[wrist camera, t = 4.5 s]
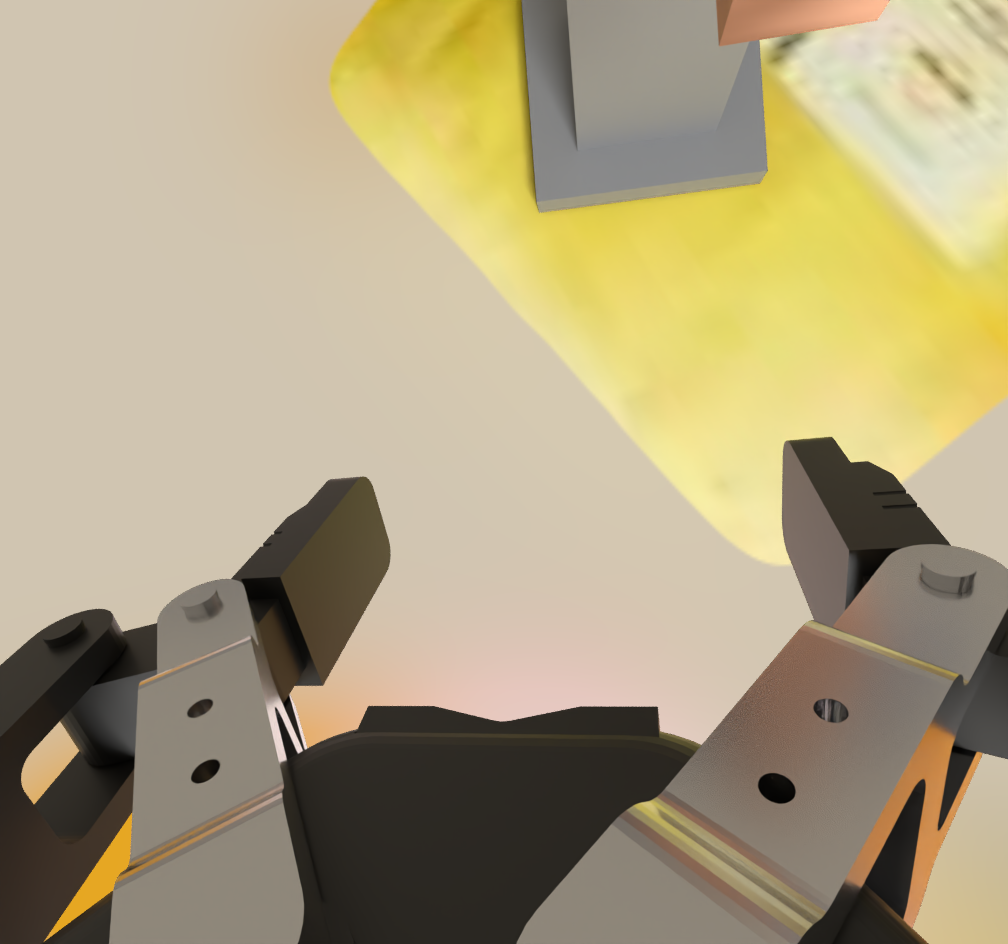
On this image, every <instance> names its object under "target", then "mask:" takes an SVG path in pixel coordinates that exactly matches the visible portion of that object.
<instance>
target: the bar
mask: <svg viewBox="0 0 1008 944" xmlns="http://www.w3.org/2000/svg"><path fill="white" fill-rule="evenodd" d="M889 1H890V0H716V9H717V24H718V40H719V46H725V45H731V44H737V43H743V42H749V41H755V40H761V39H767V38H774V37H780V36H786V35H792V34H798V33H804V32H810V31H816V30H822V29H828V28H834V27H840V26H846V25H852V24H858V23H864V22H870V21H876V20H878V18H879V16H880V15H881V13H882V12H883V10H884V9H885V7H886V6H887V4H888V3H889Z"/></svg>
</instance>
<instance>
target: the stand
mask: <svg viewBox="0 0 1008 944" xmlns="http://www.w3.org/2000/svg"><path fill="white" fill-rule="evenodd" d="M522 11H523V25H524V38H525V52H526V65H527V79H528V92H529V106H530V119H531V133H532V146H533V160H534V174H535V187H536V201H537V206H538V209H539V213H541V212H548V211H556V210H563V209H571V208H578V207H586V206H593V205H601V204H608V203H616V202H623V201H631V200H638V199H646V198H653V197H661V196H669V195H676V194H684V193H691V192H699V191H706V190H714V189H721V188H729V187H736V186H744V185H751V184H759V183H760V182H761V181H762V179H763V177H764V176H765V174H766V172H767V171H768V169H767V153H766V138H765V122H764V106H763V91H762V75H761V59H760V44H759V40H755V41H749V42H743V43H737V44H731V45H725V46H719V40H718V24H717V9H716V0H522Z"/></svg>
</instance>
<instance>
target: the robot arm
mask: <svg viewBox="0 0 1008 944" xmlns="http://www.w3.org/2000/svg"><path fill="white" fill-rule="evenodd" d="M782 527H783V536H784V542H785V546H786V550H787V553H788V555H789V558H790V560H791V563H792V565H793V568H794V570H795V573H796V575H797V578H798V580H799V583H800V585H801V588H802V590H803V593H804V595H805V598H806V600H807V603H808V606H809V608H810V610H811V613H812V615H813V618H814V620H811V621H808V622H807V623H805V624H804V625H803V626H802V627H801V628H800V629H799V630H798V631H797V633H796V634H795V635H794V636H793V637H792V639H791V640H790V641H789V642H788V643H787V645H786V646H785V647H784V648H783V649H782V651H781V652H780V653H779V654H778V655H777V656H776V658H775V659H774V660H773V661H772V662H771V664H770V665H769V666H768V667H767V668H766V669H765V671H764V672H763V673H762V674H761V675H760V677H759V678H758V679H757V680H756V681H755V683H754V684H753V685H752V686H751V687H750V688H749V690H748V691H747V692H746V693H745V694H744V696H743V697H742V698H741V699H740V701H739V702H738V703H737V704H736V705H735V706H734V707H733V709H732V710H731V711H730V712H729V713H728V715H727V716H726V717H725V718H724V719H723V721H722V722H721V723H720V724H719V725H718V727H717V728H716V729H715V730H714V731H713V733H712V734H711V735H710V736H709V737H708V738H707V740H706V741H705V742H704V743H703V744H702V745H700V744H698V743H696V742H694V741H691V740H688V739H685V738H682V737H679V736H676V735H672V734H668V733H664V732H661V731H660V726H659V715H658V707H576V708H571V709H566V710H561V711H557V712H551V713H546V714H542V715H537V716H532V717H527V718H522V719H517V720H512V721H505V722H499V721H493V720H489V719H485V718H481V717H477V716H473V715H468V714H464V713H459V712H456V711H452V710H448V709H443V708H439V707H435V706H368V708H367V710H366V712H365V714H364V717H363V719H362V721H361V723H360V725H359V728H358V729H357V730H353V731H349V732H346V733H343V734H339V735H336V736H333V737H331V738H329V739H326V740H324V741H321V742H319V743H317V744H315V745H313V746H311V747H309V748H307V745H306V741H305V738H304V734H303V731H302V727H301V724H300V720H299V717H298V714H297V710H296V707H295V705H294V702H293V700H292V698H291V695H290V692H291V691H292V689H293V687H294V686H323V685H324V683H325V681H326V679H327V677H328V676H329V674H330V672H331V670H332V669H333V667H334V665H335V663H336V661H337V660H338V658H339V656H340V654H341V652H342V650H343V649H344V647H345V645H346V643H347V641H348V640H349V638H350V636H351V635H352V633H353V631H354V629H355V627H356V626H357V624H358V622H359V620H360V619H361V616H362V615H363V613H364V611H365V610H366V608H367V606H368V604H369V602H370V601H371V599H372V597H373V595H374V594H375V592H376V590H377V588H378V586H379V585H380V583H381V581H382V579H383V577H384V576H385V574H386V572H387V570H388V567H389V563H390V544H389V539H388V536H387V533H386V530H385V526H384V523H383V519H382V516H381V513H380V509H379V506H378V502H377V499H376V496H375V492H374V489H373V486H372V484H371V482H370V481H369V479H367V478H366V477H353V478H341V479H331V480H328V481H327V482H326V483H325V485H324V486H323V487H322V488H321V489H320V490H319V491H318V492H317V494H316V495H315V496H314V497H313V498H312V499H311V500H310V501H309V503H308V504H307V505H306V506H304V507H302V508H301V509H299V510H298V511H296V512H295V513H293V514H292V515H290V516H289V517H287V518H286V519H285V521H284V522H283V523H282V524H281V525H280V526H279V527H278V528H277V529H276V530H275V531H274V535H271V536H270V537H269V538H268V539H267V540H266V541H265V542H264V543H263V547H260V548H259V549H258V550H257V551H256V552H255V553H254V554H253V556H252V557H251V558H250V559H249V560H248V561H247V562H246V563H245V564H244V566H242V568H241V569H240V570H239V571H238V572H237V573H236V574H235V575H234V576H233V578H232V579H220V580H215V581H211V582H207V583H204V584H201V585H199V586H196V587H194V588H191V589H190V590H188V591H186V592H184V593H182V594H181V595H179V596H178V597H176V598H175V599H173V600H172V601H171V602H170V603H169V604H167V605H166V607H165V608H164V609H163V610H162V611H161V613H160V615H159V617H158V621H157V623H156V624H152V625H149V626H144V627H140V628H136V629H132V630H128V631H124V632H122V631H121V629H120V627H119V625H118V624H117V622H116V620H115V618H114V616H113V614H112V613H111V612H110V611H108V610H105V609H93V610H87V611H83V612H80V613H76V614H73V615H71V616H68V617H66V618H63V619H61V620H59V621H57V622H55V623H54V624H51V625H50V626H48V627H46V628H45V629H43V630H42V631H40V632H39V633H37V634H36V635H35V636H34V637H32V638H31V639H30V640H29V641H28V642H27V643H25V644H24V645H23V646H22V647H21V648H20V649H19V650H17V651H16V652H15V653H14V654H13V655H12V656H11V657H9V658H8V659H7V660H6V661H5V662H4V663H3V664H1V665H0V944H928V943H927V942H926V941H925V940H924V939H923V938H922V937H921V936H920V935H919V934H917V932H915V931H914V930H913V929H912V928H913V925H914V923H915V920H916V917H917V915H918V912H919V909H920V906H921V904H922V901H923V897H924V894H925V891H926V888H927V884H928V881H929V877H930V874H931V871H932V868H933V865H934V862H935V860H936V857H937V855H938V852H939V850H940V848H941V845H942V843H943V841H944V839H945V837H946V834H947V832H948V830H949V827H950V826H951V823H952V821H953V819H954V817H955V815H956V812H957V810H958V808H959V806H960V804H961V801H962V799H963V797H964V795H965V792H966V790H967V788H968V786H969V784H970V781H971V779H972V777H973V775H974V773H975V770H976V768H977V766H978V764H979V762H980V759H981V757H982V754H983V753H985V754H989V755H993V756H997V757H1001V758H1005V759H1008V569H1007V568H1005V567H1004V566H1003V565H1002V564H1000V563H999V562H997V561H995V560H993V559H992V558H990V557H987V556H986V555H983V554H980V553H978V552H975V551H972V550H968V549H965V548H960V547H955V546H951V545H950V544H949V542H948V541H947V540H946V539H945V538H944V536H943V535H942V534H941V533H940V531H939V530H938V529H937V528H936V526H935V525H934V524H933V523H932V522H931V521H930V519H929V518H928V517H927V516H926V514H925V513H924V512H923V511H922V509H921V508H920V507H917V503H916V502H915V501H914V500H913V498H912V497H911V496H910V495H909V494H906V490H905V489H904V487H903V486H902V485H901V484H900V482H899V481H898V480H897V479H896V477H895V476H894V475H893V474H892V473H890V472H888V471H886V470H884V469H882V468H880V467H878V466H876V465H874V464H872V463H870V462H868V461H865V462H853V463H851V462H850V461H849V460H848V458H847V457H846V455H845V454H844V453H843V451H842V450H841V448H840V447H839V446H838V444H837V443H836V441H835V440H834V439H833V438H832V437H824V438H813V439H801V440H790V441H786V442H785V444H784V448H783V482H782ZM59 721H60V722H61V723H62V725H63V726H64V728H65V729H66V731H67V732H68V734H69V736H70V737H71V739H72V740H73V742H74V743H75V745H76V746H77V748H78V749H79V752H78V753H77V755H76V756H75V757H74V758H73V759H72V760H71V762H70V763H69V764H68V765H67V766H66V768H65V769H64V770H63V771H62V772H61V774H60V775H59V776H58V777H57V778H56V779H55V781H54V782H53V783H52V784H51V785H50V787H49V788H48V789H47V790H46V791H45V793H44V794H43V795H42V796H41V797H40V799H39V800H38V801H37V802H36V803H35V804H33V803H32V801H31V800H30V799H29V797H28V796H27V795H26V793H25V792H24V790H23V788H22V785H21V773H22V768H23V765H24V763H25V761H26V759H27V757H28V756H29V754H30V753H31V752H32V750H33V749H34V748H35V747H36V746H37V745H38V744H39V743H40V742H41V741H42V740H43V739H44V737H45V736H46V735H47V734H48V733H49V732H50V731H51V730H52V729H53V728H54V727H55V726H56V724H57V723H58V722H59ZM132 811H133V812H132ZM131 813H132V834H131V835H132V836H131V855H130V862H129V865H128V868H127V869H126V870H125V871H123V872H122V873H120V875H119V876H118V877H117V880H116V882H115V886H114V890H113V891H112V892H110V893H109V894H108V895H106V896H105V897H104V898H102V899H101V900H100V901H98V902H97V903H96V904H94V905H93V906H92V907H90V908H89V909H88V910H86V911H85V912H84V913H82V914H81V915H80V916H78V917H77V918H75V919H74V920H73V921H71V922H70V923H69V924H68V925H66V926H65V927H63V928H62V929H61V930H59V931H58V932H57V933H55V934H54V935H53V936H52V937H50V938H49V939H47V940H46V941H45V942H44V940H45V939H46V937H47V936H48V934H49V933H50V932H51V930H52V929H53V927H54V926H55V924H56V923H57V921H58V920H59V918H60V917H61V915H62V914H63V912H64V911H65V910H66V908H67V907H68V905H69V904H70V902H71V901H72V899H73V898H74V896H75V895H76V893H77V892H78V890H79V889H80V887H81V886H82V884H83V883H84V882H85V880H86V879H87V877H88V876H89V874H90V873H91V871H92V870H93V869H94V867H95V866H96V864H97V863H98V861H99V859H100V858H101V857H102V855H103V854H104V852H105V851H106V849H107V848H108V846H109V845H110V844H111V842H112V841H113V839H114V838H115V836H116V835H117V833H118V832H119V831H120V829H121V828H122V826H123V825H124V823H125V822H126V820H127V819H128V817H129V816H130V814H131Z"/></svg>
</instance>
